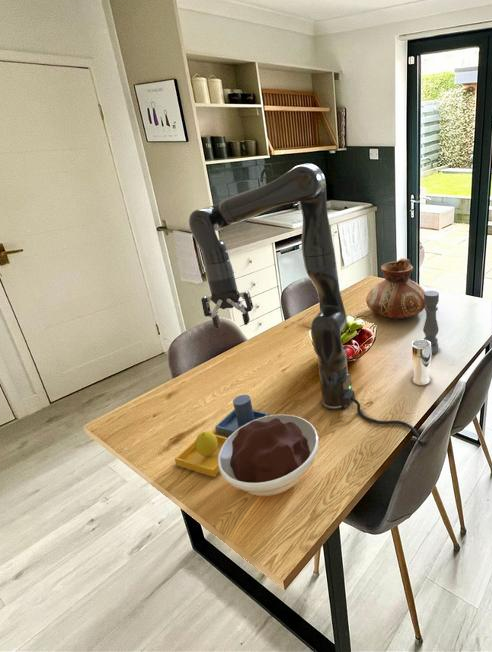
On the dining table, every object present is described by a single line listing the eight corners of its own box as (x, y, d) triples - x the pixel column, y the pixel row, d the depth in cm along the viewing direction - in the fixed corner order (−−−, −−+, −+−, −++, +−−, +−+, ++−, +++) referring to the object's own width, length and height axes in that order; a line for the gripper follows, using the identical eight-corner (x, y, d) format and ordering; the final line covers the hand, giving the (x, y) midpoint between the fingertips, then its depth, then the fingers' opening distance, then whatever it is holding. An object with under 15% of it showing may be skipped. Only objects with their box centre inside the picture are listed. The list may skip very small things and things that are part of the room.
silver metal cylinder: (433, 377, 144) (434, 340, 138) (427, 387, 138) (427, 350, 132) (415, 373, 147) (415, 337, 141) (408, 383, 141) (408, 346, 135)
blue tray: (270, 419, 125) (269, 413, 125) (249, 441, 117) (248, 435, 116) (238, 412, 129) (237, 406, 128) (216, 432, 121) (215, 426, 120)
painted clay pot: (429, 324, 184) (430, 273, 174) (365, 326, 184) (362, 275, 175) (424, 299, 211) (424, 254, 202) (368, 301, 212) (365, 256, 202)
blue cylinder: (258, 419, 125) (253, 396, 121) (248, 430, 121) (243, 406, 117) (245, 416, 127) (240, 393, 123) (234, 427, 122) (229, 403, 119)
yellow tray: (242, 447, 114) (240, 441, 113) (214, 477, 105) (212, 470, 104) (206, 437, 119) (204, 431, 118) (176, 465, 109) (174, 458, 108)
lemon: (212, 463, 109) (206, 440, 106) (194, 461, 110) (188, 438, 107) (224, 449, 114) (218, 426, 111) (206, 446, 115) (200, 424, 112)
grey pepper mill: (421, 352, 161) (421, 295, 151) (425, 345, 166) (425, 289, 156) (435, 355, 158) (437, 297, 149) (439, 347, 164) (441, 291, 154)
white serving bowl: (278, 428, 121) (271, 387, 115) (341, 462, 108) (336, 417, 102) (204, 484, 103) (191, 438, 97) (268, 533, 89) (258, 484, 83)
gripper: (191, 282, 115) (205, 333, 120) (241, 276, 116) (253, 327, 121) (200, 275, 122) (213, 324, 127) (247, 270, 123) (258, 318, 128)
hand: (232, 325), depth 124 cm, fingers open, 8 cm apart
